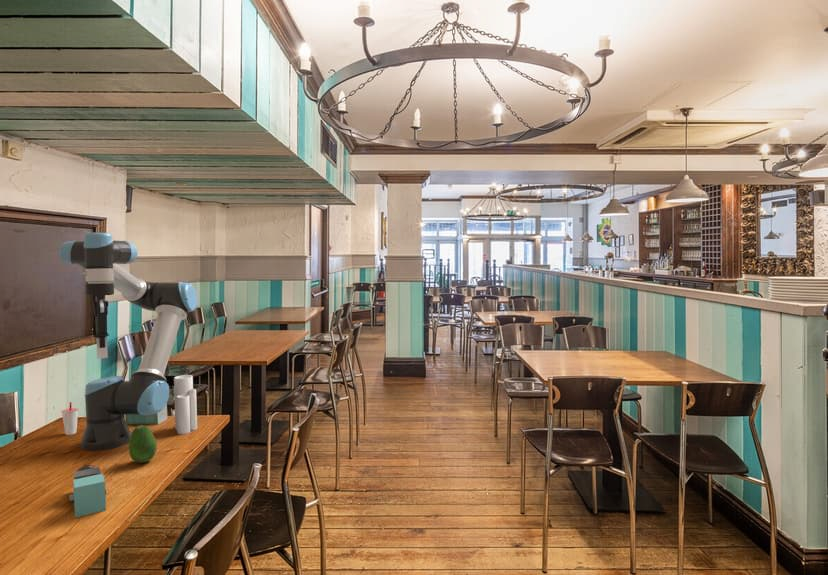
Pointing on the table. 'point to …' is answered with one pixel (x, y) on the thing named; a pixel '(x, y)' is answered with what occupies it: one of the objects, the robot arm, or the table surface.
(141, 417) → the box
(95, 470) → the guide
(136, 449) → the fruit
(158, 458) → the table surface
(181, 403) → the vase
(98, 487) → the socket
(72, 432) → the cup
